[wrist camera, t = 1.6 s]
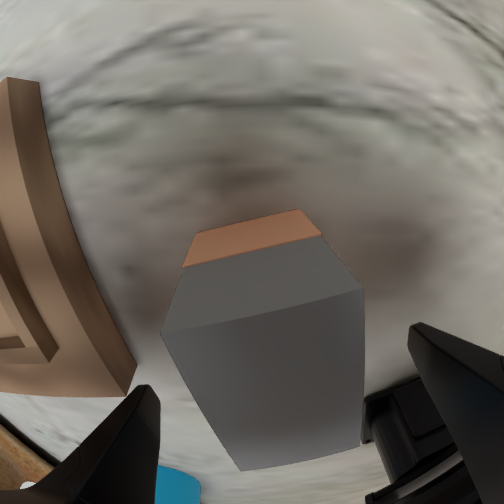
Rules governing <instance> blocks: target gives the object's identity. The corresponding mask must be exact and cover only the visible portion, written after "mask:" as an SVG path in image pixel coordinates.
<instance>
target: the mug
mask: <svg viewBox="0 0 504 504" xmlns="http://www.w3.org/2000/svg"><path fill="white" fill-rule="evenodd" d="M200 490H201V486H200V483H199V482H198V481H197V480H196V479H195V478H193V477H191V476H189V475H187V474H186V473H183V472H180V471H177V470H175V469H172V468H167V467H163V466H159V465H158V468H157V479H156V491H155V504H200Z"/></svg>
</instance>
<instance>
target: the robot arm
mask: <svg viewBox="0 0 504 504" xmlns="http://www.w3.org/2000/svg"><path fill="white" fill-rule="evenodd" d="M408 349H409V352H410V354H411V356H412V358H413V361H414V363H415V365H416V368H417V370H418V372H419V375H420V377H419V378H417V379H414V380H412V381H410V382H407V383H405V384H402V385H400V386H397V387H394V388H392V389H389V390H386V391H384V392H381V393H378V394H375V395H372V396H370V397H368V398H367V399H366V400H365V401H364V410H363V424H362V435H361V441H362V443H363V444H368V443H371V442H374V441H375V444H376V446H377V449H378V451H379V454H380V457H381V459H382V462H383V464H384V467H385V470H386V472H387V475H388V478H389V480H390V483H391V484H390V485H388V486H387V487H385V488H383V489H381V490H379V491H377V492H375V493H373V492H372V493H370V494H368V495H366V496H365V502H366V504H504V356H502V355H500V356H499V354H497V353H495V352H492V351H490V350H487V349H485V348H482V347H480V346H478V345H475V344H473V343H470V342H468V341H466V340H463V339H461V338H458V337H456V336H453V335H451V334H449V333H446V332H444V331H441V330H439V329H436V328H434V327H432V326H429V325H427V324H424V323H422V322H418V323H416V324H413V325H411V326H410V327H409V334H408ZM160 411H161V404H160V400H159V398H158V397H157V395H156V394H155V392H154V390H153V389H152V387H151V386H150V385H148V384H145V385H138V386H137V387H136V388H135V389H134V390H133V391H132V392H131V393H130V394H129V395H128V396H127V397H126V398H125V399H124V400H123V401H122V402H121V403H120V404H119V405H118V406H117V407H116V408H115V409H114V410H113V411H112V412H111V413H110V414H109V416H108V417H107V418H106V419H105V420H104V421H103V422H102V423H101V424H100V425H99V426H98V427H97V428H96V429H95V430H94V431H93V432H92V433H91V434H90V435H89V436H88V437H87V438H86V439H85V440H84V441H83V442H82V443H81V444H80V445H79V447H77V448H76V449H75V450H74V451H73V452H72V453H71V454H70V455H69V456H68V457H67V458H66V459H65V460H64V461H63V462H61V463H60V464H59V465H58V466H57V467H56V468H54V469H53V470H52V471H51V472H50V473H48V474H47V475H46V476H45V477H43V478H42V479H41V480H40V481H38V482H37V483H36V484H34V485H33V486H31V487H28V488H25V489H16V490H0V504H155V491H156V479H157V468H158V458H159V449H160Z"/></svg>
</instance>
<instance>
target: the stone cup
mask: <svg viewBox="0 0 504 504" xmlns="http://www.w3.org/2000/svg"><path fill="white" fill-rule="evenodd" d="M54 468H55V467H53V466H52V465H51V464H49V463H48V462H47V461H45V460H44V459H43V458H41V457H40V456H39V455H38V454H36V453H35V452H34V451H33V450H31V449H30V448H29V447H28V446H26V445H25V444H24V443H22V442H21V441H20V440H19V439H18V438H16V437H15V436H14V435H13V434H12V433H10V432H9V431H8V430H7V429H6V428H4V427H3V426H2V425H1V424H0V490H16V489H20V487H21V485H22V483H24V482H26V481H30V482H34V483H37V482H38V481H40V480H41V479H42V478H43V477H45V476H46V475H47V474H48V473H50V472H51V471H52V470H53V469H54Z"/></svg>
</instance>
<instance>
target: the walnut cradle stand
mask: <svg viewBox="0 0 504 504" xmlns="http://www.w3.org/2000/svg"><path fill="white" fill-rule="evenodd" d="M136 368H137V364H136V362H135V360H134V359H133V357H132V355H131V353H130V352H129V350H128V348H127V346H126V345H125V343H124V341H123V339H122V337H121V335H120V333H119V332H118V330H117V328H116V326H115V324H114V322H113V320H112V318H111V316H110V314H109V312H108V310H107V308H106V306H105V304H104V302H103V300H102V297H101V295H100V293H99V291H98V289H97V286H96V284H95V282H94V280H93V277H92V275H91V273H90V270H89V268H88V266H87V263H86V261H85V258H84V256H83V253H82V251H81V248H80V246H79V243H78V240H77V238H76V235H75V232H74V229H73V227H72V224H71V221H70V218H69V215H68V212H67V209H66V206H65V202H64V199H63V196H62V193H61V189H60V186H59V182H58V179H57V175H56V171H55V168H54V164H53V160H52V156H51V151H50V147H49V142H48V138H47V133H46V128H45V123H44V117H43V111H42V105H41V98H40V91H39V83H38V82H34V81H29V80H23V79H17V78H11V77H6V78H5V79H4V80H3V81H1V82H0V392H7V393H16V394H26V395H38V396H55V397H126V396H127V393H128V390H129V387H130V384H131V382H132V379H133V376H134V373H135V371H136Z"/></svg>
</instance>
